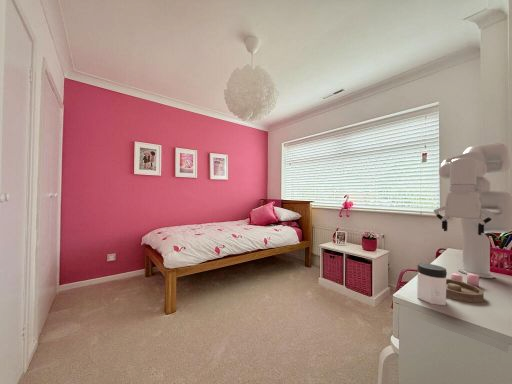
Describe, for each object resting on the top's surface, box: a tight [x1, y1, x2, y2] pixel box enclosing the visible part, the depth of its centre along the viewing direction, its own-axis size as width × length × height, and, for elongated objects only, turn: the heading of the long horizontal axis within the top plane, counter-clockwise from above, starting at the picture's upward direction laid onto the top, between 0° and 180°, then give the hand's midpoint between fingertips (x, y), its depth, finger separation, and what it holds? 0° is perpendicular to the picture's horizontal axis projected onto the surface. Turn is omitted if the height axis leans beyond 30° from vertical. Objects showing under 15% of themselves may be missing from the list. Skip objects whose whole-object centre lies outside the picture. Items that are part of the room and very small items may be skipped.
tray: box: [446, 278, 485, 304], centre depth 83 cm, size 16×16×3 cm
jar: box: [416, 262, 448, 306], centre depth 76 cm, size 9×8×12 cm
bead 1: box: [450, 272, 463, 282], centre depth 90 cm, size 4×4×4 cm
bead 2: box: [466, 273, 480, 288], centre depth 91 cm, size 4×4×4 cm
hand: (461, 232), depth 82 cm, fingers open, 9 cm apart
